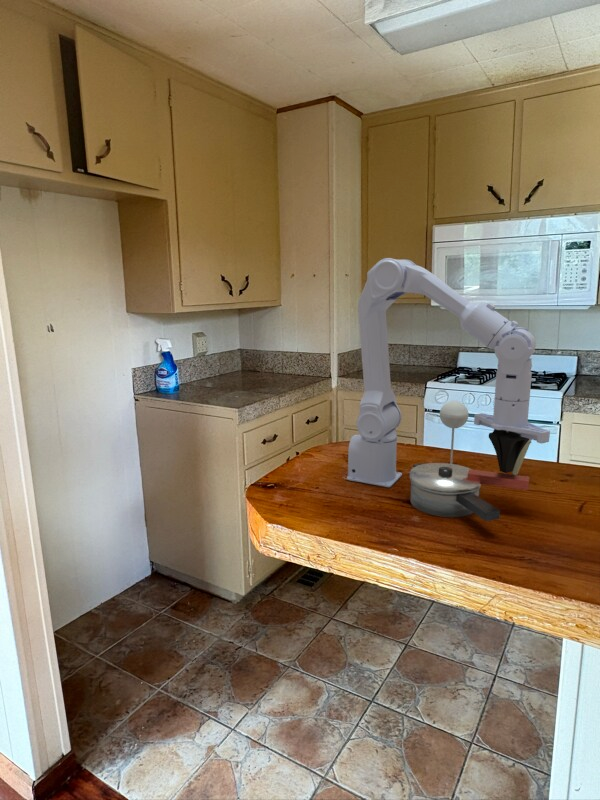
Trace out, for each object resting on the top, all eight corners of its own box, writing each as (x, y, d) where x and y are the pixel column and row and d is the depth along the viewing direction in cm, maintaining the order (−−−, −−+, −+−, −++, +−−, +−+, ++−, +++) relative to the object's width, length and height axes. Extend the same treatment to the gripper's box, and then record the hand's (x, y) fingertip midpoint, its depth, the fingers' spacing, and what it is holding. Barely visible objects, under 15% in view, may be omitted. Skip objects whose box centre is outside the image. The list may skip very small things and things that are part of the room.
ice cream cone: (530, 483, 106) (537, 410, 102) (503, 481, 107) (509, 409, 103) (525, 474, 111) (531, 404, 107) (499, 472, 112) (505, 404, 108)
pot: (384, 517, 91) (385, 492, 90) (415, 481, 107) (415, 460, 106) (496, 541, 83) (498, 513, 82) (511, 498, 99) (513, 475, 98)
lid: (403, 486, 93) (403, 475, 92) (417, 463, 104) (417, 453, 104) (528, 504, 85) (529, 492, 85) (528, 477, 96) (529, 467, 96)
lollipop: (433, 463, 118) (436, 398, 114) (458, 462, 118) (462, 397, 115) (442, 473, 112) (446, 404, 108) (469, 472, 112) (474, 404, 109)
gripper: (464, 393, 97) (460, 463, 100) (532, 409, 85) (526, 488, 88) (490, 389, 100) (486, 457, 103) (560, 403, 88) (553, 480, 91)
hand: (506, 471), depth 96 cm, fingers closed
